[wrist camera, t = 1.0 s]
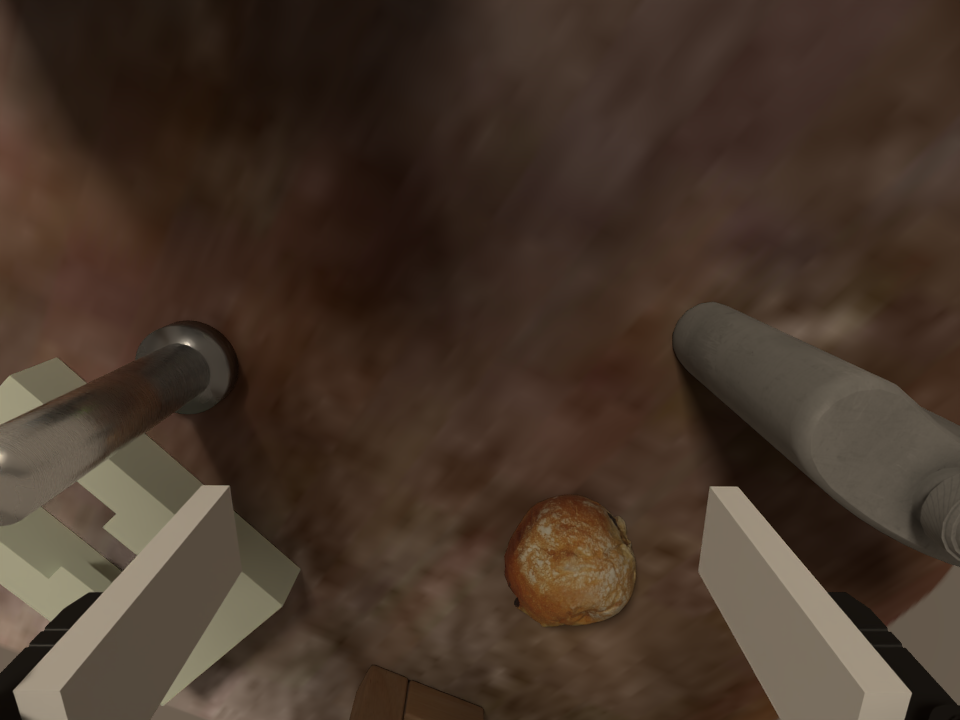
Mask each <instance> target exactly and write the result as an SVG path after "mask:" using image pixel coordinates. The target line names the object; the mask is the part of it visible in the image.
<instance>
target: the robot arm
mask: <svg viewBox="0 0 960 720" xmlns="http://www.w3.org/2000/svg"><path fill="white" fill-rule="evenodd" d="M241 572H242V567H241V560H240V553H239V546H238V539H237V532H236V525H235V518H234V511H233V504H232V497H231V490H230V486H229V485H202V486H201V487H200V488H199V489H198V490H197V491H196V492H195V493H194V495H193V496H192V497H191V498H190V499H189V500H188V501H187V502H186V503H185V504H184V505H183V506H182V508H181V509H180V510H179V511H178V512H177V513H176V514H175V515H174V516H173V517H172V518H171V520H170V521H169V522H168V523H167V524H166V525H165V526H164V527H163V528H162V529H161V530H160V531H159V533H158V534H157V535H156V536H155V537H154V538H153V539H152V540H151V541H150V542H149V543H148V545H147V546H146V547H145V548H144V549H143V550H142V551H141V552H140V553H139V554H138V555H137V556H136V558H135V559H134V560H133V561H132V562H131V563H130V564H129V565H128V566H127V567H126V568H125V569H124V571H123V572H122V573H121V574H120V575H119V576H118V577H117V578H116V579H115V580H114V581H113V583H112V584H111V585H110V586H109V587H108V588H107V589H106V590H105V591H104V592H89V593H87V594H85V595H84V596H82V597H81V598H79V599H78V600H76V601H75V602H73V603H72V604H70V605H68V606H67V607H65V608H64V609H63V610H62V611H61V612H60V613H59V614H58V615H57V616H56V617H55V618H54V619H53V620H52V621H51V622H50V623H49V624H48V625H47V626H46V627H45V630H44V631H41V632H40V633H39V634H38V635H37V636H36V637H35V638H34V639H33V640H32V641H31V642H30V645H29V647H26V648H25V649H24V650H23V651H22V652H21V653H20V654H19V655H18V656H17V657H16V658H15V659H14V660H13V661H12V662H11V663H10V664H9V665H8V666H7V667H6V668H5V669H4V670H3V671H2V672H1V673H0V720H151V718H152V716H153V715H154V713H155V711H156V710H157V708H158V707H159V705H160V703H161V702H162V700H163V699H164V697H165V695H166V694H167V692H168V690H169V689H170V687H171V686H172V684H173V682H174V681H175V679H176V677H177V676H178V674H179V673H180V671H181V669H182V668H183V666H184V664H185V663H186V661H187V660H188V658H189V656H190V655H191V653H192V651H193V650H194V648H195V647H196V645H197V643H198V642H199V640H200V638H201V637H202V635H203V634H204V632H205V630H206V629H207V627H208V625H209V624H210V622H211V621H212V619H213V617H214V616H215V614H216V612H217V611H218V609H219V608H220V606H221V604H222V603H223V601H224V599H225V598H226V596H227V595H228V593H229V591H230V590H231V588H232V586H233V585H234V583H235V582H236V580H237V578H238V577H239V575H240V573H241ZM698 572H699V574H700V576H701V578H702V579H703V581H704V583H705V585H706V587H707V588H708V590H709V592H710V594H711V596H712V597H713V599H714V601H715V603H716V604H717V606H718V608H719V610H720V612H721V613H722V615H723V617H724V619H725V621H726V622H727V624H728V626H729V628H730V630H731V631H732V633H733V635H734V637H735V639H736V640H737V642H738V644H739V646H740V648H741V649H742V651H743V653H744V655H745V656H746V658H747V660H748V662H749V664H750V665H751V667H752V669H753V671H754V673H755V674H756V676H757V678H758V680H759V682H760V683H761V685H762V687H763V689H764V691H765V692H766V694H767V696H768V698H769V700H770V701H771V703H772V705H773V707H774V708H775V710H776V712H777V714H778V716H779V717H780V719H781V720H960V706H958V705H957V704H956V703H955V702H954V701H953V699H952V698H951V697H950V696H949V695H948V694H947V693H946V692H945V691H944V689H943V688H942V687H941V686H940V685H939V684H938V683H937V682H936V681H935V680H934V679H933V677H931V675H930V674H929V673H928V672H927V671H926V670H925V669H924V668H923V666H922V665H921V664H920V663H919V662H918V661H917V660H916V659H915V658H914V657H913V656H912V654H911V653H910V652H909V651H908V650H907V649H906V648H903V647H902V644H901V642H900V641H899V640H898V639H897V638H896V637H895V636H894V635H893V634H892V633H891V632H888V630H887V627H886V626H885V625H884V624H883V623H882V621H881V620H880V619H879V618H878V617H877V616H876V615H875V614H874V613H873V612H872V611H871V609H869V608H868V607H866V606H865V605H864V604H862V603H861V602H859V601H858V600H856V599H855V598H853V597H852V596H850V595H849V594H847V593H846V592H826V590H825V589H824V588H823V587H822V586H821V585H820V583H819V582H818V581H817V580H816V579H815V577H814V576H813V575H812V574H811V573H810V572H809V570H808V569H807V568H806V567H805V566H804V564H803V563H802V562H801V561H800V560H799V558H798V557H797V556H796V555H795V554H794V553H793V551H792V550H791V549H790V548H789V547H788V545H787V544H786V543H785V542H784V541H783V540H782V538H781V537H780V536H779V535H778V534H777V532H776V531H775V530H774V529H773V528H772V526H771V525H770V524H769V523H768V522H767V521H766V519H765V518H764V517H763V516H762V515H761V513H760V512H759V511H758V510H757V509H756V508H755V506H754V505H753V504H752V503H751V502H750V500H749V499H748V498H747V497H746V496H745V494H744V493H743V492H742V491H741V490H740V489H739V487H710V489H709V496H708V503H707V511H706V518H705V526H704V533H703V541H702V548H701V555H700V563H699V570H698Z"/></svg>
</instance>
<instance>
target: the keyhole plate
mask: <svg viewBox="0 0 960 720" xmlns="http://www.w3.org/2000/svg"><path fill="white" fill-rule="evenodd" d="M85 384H87V383H86V382H85V381H84V380H83V379H81V378H80V377H79V376H78V375H77V374H76V373H75V372H73V371H72V370H71V369H70V368H69V367H68V366H66V365H65V364H64V363H63V362H62V361H61V360H60V359H58V358H54V359H52V360H49V361H46V362H44V363H41V364H39V365H36V366H33V367H31V368H28V369H25V370H23V371H20V372H18V373H15V374H12V375H10V376H9V377H8V378H7V379H6V380H5V381H4V382H3V384H2V385H1V386H0V425H1V424H3V423H5V422H7V421H9V420H11V419H13V418H15V417H18V416H20V415H22V414H24V413H26V412H28V411H30V410H32V409H34V408H36V407H39V406H41V405H43V404H45V403H47V402H49V401H51V400H53V399H55V398H57V397H60V396H62V395H64V394H66V393H68V392H70V391H72V390H74V389H76V388H78V387H81V386H83V385H85ZM77 482H78V483H80V484H81V485H82V486H83V487H84V488H86V489H87V490H88V491H89V492H91V493H92V494H93V495H94V496H95V497H97V498H98V499H99V500H100V501H101V502H103V503H104V504H105V505H106V506H108V507H109V508H110V509H111V510H112V511H114V512H115V513H116V515H115V516H114V517H113V518H112V519H111V520H109V521H108V522H107V523H106V524H105V525H104V526H103V528H104V529H105V530H106V531H108V532H109V533H110V534H111V535H113V536H114V537H115V538H116V539H118V540H119V541H120V542H121V543H123V544H124V545H125V546H126V547H127V548H129V549H130V550H131V551H132V552H134V553H135V554H136V555H138V554H139V553H140V552H141V551H142V550H143V549H144V548H145V547H146V546H147V545H148V543H149V542H150V541H151V540H152V539H153V538H154V537H155V536H156V535H157V534H158V533H159V531H160V530H161V529H162V528H163V527H164V526H165V525H166V524H167V523H168V522H169V521H170V520H171V518H172V517H173V516H174V515H175V514H176V513H177V512H178V511H179V510H180V509H181V508H182V506H183V505H184V504H185V503H186V502H187V501H188V500H189V499H190V498H191V497H192V496H193V495H194V493H195V492H196V491H197V490H198V489H199V488H200V487H201V486H202V485H203V484H202V483H201V482H200V481H199V480H198V479H197V478H195V477H194V476H193V475H192V474H191V473H190V472H188V471H187V470H186V469H185V468H184V467H183V466H182V465H180V464H179V463H178V462H177V461H176V460H175V459H174V458H172V457H171V456H170V455H169V454H168V453H167V452H165V451H164V450H163V449H162V448H161V447H160V446H159V445H157V444H156V443H155V442H154V441H153V440H152V439H150V438H149V437H148V436H147V435H146V434H145V433H144V434H143V435H142V436H140V437H139V438H137V439H136V440H134V441H133V442H132V443H130V444H129V445H127V446H126V447H125V448H123V449H122V450H120V451H119V452H117V453H116V454H115V455H113V456H112V457H110V458H109V459H107V460H106V461H105V462H103V463H102V464H100V465H99V466H98V467H96V468H95V469H93V470H92V471H90V472H89V473H88V474H86V475H85V476H83V477H82V478H80V479H79V480H78V481H77ZM234 518H235V525H236V532H237V539H238V546H239V553H240V560H241V567H242V572H241V573H240V575H239V577H238V578H237V580H236V582H235V583H234V585H233V586H232V588H231V590H230V591H229V593H228V595H227V596H226V598H225V599H224V601H223V603H222V604H221V606H220V608H219V609H218V611H217V612H216V614H215V616H214V617H213V619H212V621H211V622H210V624H209V625H208V627H207V629H206V630H205V632H204V634H203V635H202V637H201V638H200V640H199V642H198V643H197V645H196V647H195V648H194V650H193V651H192V653H191V655H190V656H189V658H188V660H187V661H186V663H185V664H184V666H183V668H182V669H181V671H180V673H179V674H178V676H177V677H176V679H175V681H174V682H173V684H172V686H171V687H170V689H169V690H168V692H167V694H166V695H165V697H164V699H163V700H162V702H161V703H160V705H162V706H164V705H165V704H166V703H167V702H168V701H170V700H171V699H172V698H173V697H174V696H176V695H177V694H178V693H179V692H180V691H182V690H183V689H184V688H185V687H186V686H188V685H189V684H190V683H191V682H192V681H194V680H195V679H196V678H197V677H198V676H199V675H201V674H202V673H203V672H204V671H205V670H207V669H208V668H209V667H210V666H211V665H213V664H214V663H215V662H216V661H217V660H219V659H220V658H221V657H222V656H223V655H225V654H226V653H227V652H228V651H229V650H231V649H232V648H233V647H234V646H235V645H237V644H238V643H239V642H240V641H241V640H243V639H244V638H245V637H246V636H247V635H249V634H250V633H251V632H252V631H253V630H255V629H256V628H257V627H258V626H259V625H261V624H262V623H263V622H264V621H265V620H267V619H268V618H269V617H270V616H271V615H273V614H274V613H275V612H276V611H277V610H279V609H280V608H281V607H282V606H283V605H284V603H285V601H286V599H287V597H288V595H289V593H290V590H291V588H292V586H293V584H294V582H295V580H296V578H297V576H298V574H299V572H300V570H301V569H300V568H299V567H298V566H297V565H296V564H294V563H293V562H292V561H291V560H290V559H289V558H287V557H286V556H285V555H284V554H283V553H282V552H281V551H279V550H278V549H277V548H276V547H275V546H274V545H273V544H271V543H270V542H269V541H268V540H267V539H266V538H264V537H263V536H262V535H261V534H260V533H259V532H258V531H256V530H255V529H254V528H253V527H252V526H251V525H249V524H248V523H247V522H246V521H245V520H244V519H243V518H241V517H240V516H239V515H238V514H237V513H236V512H235V511H234ZM121 573H122V571H121V570H119V569H118V568H117V567H116V566H114V565H113V564H112V563H111V562H109V561H108V560H107V559H106V558H104V557H103V556H102V555H101V554H99V553H98V552H97V551H96V550H94V549H93V548H92V547H91V546H89V545H88V544H87V543H86V542H84V541H83V540H82V539H81V538H79V537H78V536H77V535H76V534H74V533H73V532H72V531H71V530H69V529H68V528H67V527H66V526H64V525H63V524H62V523H61V522H59V521H58V520H57V519H56V518H54V517H53V516H52V515H51V514H49V513H48V512H47V511H46V510H44V509H43V508H42V507H39V508H38V509H36V510H35V511H34V512H32V513H31V514H29V515H28V516H26V517H25V518H24V519H22V520H21V521H19V522H17V523H14V524H12V525H8V526H0V584H1V585H2V586H4V587H5V588H6V589H8V590H9V591H10V592H12V593H13V594H14V595H16V596H17V597H18V598H20V599H21V600H22V601H24V602H25V603H26V604H28V605H29V606H30V607H32V608H33V609H34V610H36V611H37V612H38V613H40V614H41V615H42V616H43V617H45V618H46V619H47V620H49V621H50V622H51V621H52V620H53V619H54V618H55V617H56V616H57V615H58V614H59V613H60V612H61V611H62V610H63V609H64V608H65V607H67V606H68V605H70V604H72V603H73V602H75V601H76V600H78V599H79V598H81V597H82V596H84V595H85V594H87V593H89V592H104V591H105V590H106V589H107V588H108V587H109V586H110V585H111V584H112V583H113V581H114V580H115V579H116V578H117V577H118V576H119V575H120V574H121Z"/></svg>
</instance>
